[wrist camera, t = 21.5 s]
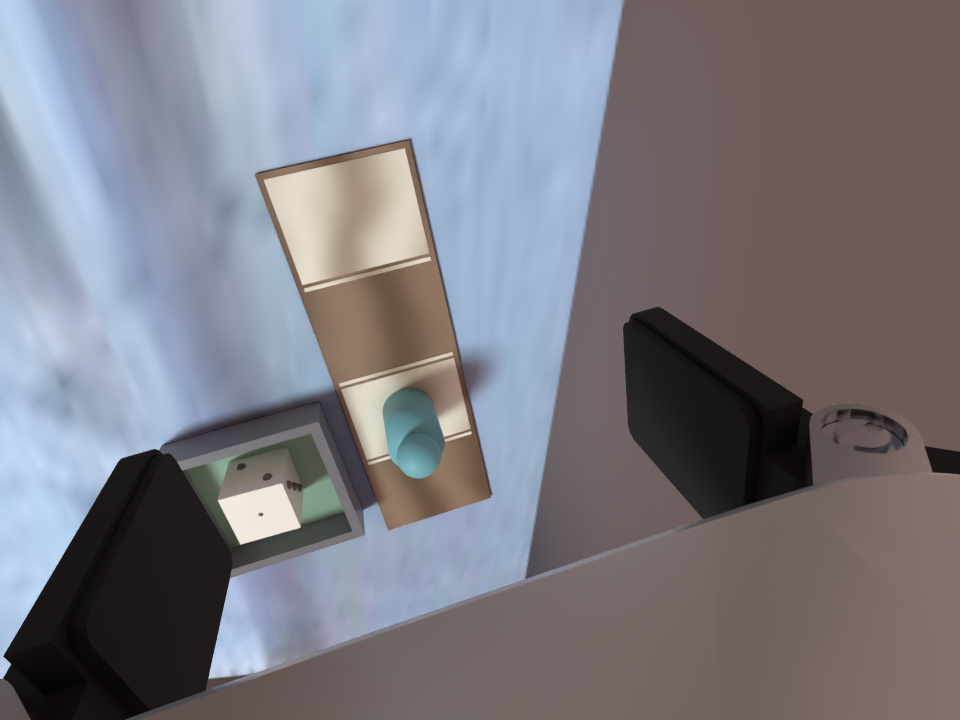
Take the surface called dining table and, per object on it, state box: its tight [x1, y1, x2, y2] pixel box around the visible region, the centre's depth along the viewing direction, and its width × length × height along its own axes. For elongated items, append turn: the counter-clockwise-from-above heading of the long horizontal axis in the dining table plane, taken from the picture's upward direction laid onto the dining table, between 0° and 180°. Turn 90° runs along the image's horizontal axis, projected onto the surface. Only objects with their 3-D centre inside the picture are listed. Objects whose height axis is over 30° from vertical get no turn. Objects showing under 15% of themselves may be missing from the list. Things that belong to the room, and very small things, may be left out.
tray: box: [159, 401, 365, 578], centre depth 42 cm, size 12×12×3 cm
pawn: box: [383, 388, 445, 478], centre depth 40 cm, size 4×4×8 cm
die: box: [218, 447, 304, 545], centre depth 40 cm, size 5×5×4 cm
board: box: [255, 140, 491, 530], centre depth 41 cm, size 10×32×1 cm, turn 11°
